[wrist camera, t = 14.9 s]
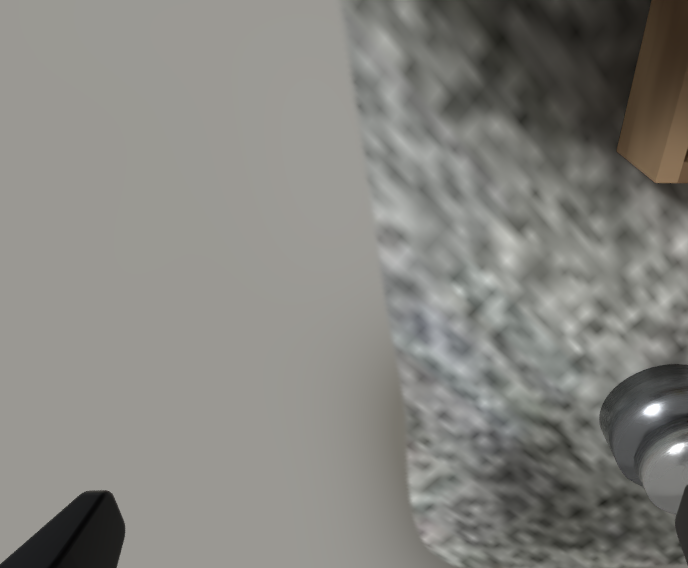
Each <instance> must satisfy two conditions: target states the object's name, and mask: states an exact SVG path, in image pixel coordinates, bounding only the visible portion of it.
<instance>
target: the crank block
mask: <svg viewBox="0 0 688 568" xmlns="http://www.w3.org/2000/svg"><path fill="white" fill-rule="evenodd" d="M686 417H688V365H679V364H674V365H663V366H657V367H653V368H649V369H646V370H643V371H641V372H639V373H636V374H634V375H632V376H631V377H629V378H627V379H626V380H624V381H623V382H621V383H620V384H619V385H618V386H616V387H615V388H614V389H613V390H612V391H611V392H610V394H609V395H608V396H607V398H606V399H605V401H604V403H603V405H602V408H601V411H600V420H599V421H600V427H601V429H602V432H603V434H604V436H605V438H606V440H607V443H608V445H609V447H610V449H611V451H612V453H613V455H614V457H615V460H616V462H617V464H618V466H619V468H620V470H621V471H622V473H623V474H624V475H625V476H626V477H627V478H628V479H630V480H631V481H633V482H634V483H636V484H638V485H641V486H643V485H642V483H641V481H640V479H639V477H638V475H637V473H636V471H635V468H634V455H635V452H636V450H637V448H638V446H639V445H640V443H641V442H642V441H643V440H644V439H645V438H646V437H647V436H648V435H649V434H650V433H651V432H653V431H654V430H656V429H657V428H659V427H661V426H663V425H665V424H667V423H669V422H672V421H675V420H678V419H681V418H686Z"/></svg>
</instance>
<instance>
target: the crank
mask: <svg viewBox="0 0 688 568" xmlns="http://www.w3.org/2000/svg"><path fill="white" fill-rule="evenodd" d="M634 468H635V471H636V473H637V475H638V477H639V479H640V481H641V483H642V485H643V487H644V489H645V491H646V493H647V495H648V497H649V499H650V500H651V501H652V502H653V504H654V505H656V506H657V507H658V508H660V509H662V510H664V511H666V512H669V513H672V514H677V511H678V508H679V505H680V502H681V498H682V495H683V492H684V489H685V487H686V485H688V417H686V418H681V419H678V420H675V421H672V422H669V423H667V424H665V425H663V426H661V427H659V428H657V429H656V430H654V431H653V432H651V433H650V434H649V435H648V436H647V437H646V438H645V439H644V440H643V441H642V442H641V443H640V445H639V446H638V448H637V450H636V452H635V455H634Z"/></svg>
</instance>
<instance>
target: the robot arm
mask: <svg viewBox="0 0 688 568" xmlns="http://www.w3.org/2000/svg"><path fill="white" fill-rule="evenodd" d="M675 526H676V532H677V535H678V538H679V541H680V544H681V547H682V550H683V553H684V556H685V559H686V562H687V564H688V485H686V487H685V489H684V492H683V495H682V498H681V502H680V505H679V508H678V511H677V514H676V519H675ZM124 537H125V523H124V520H123V518H122V515H121V513H120V510H119V508H118V505H117V503H116V501H115V498H114V496H113V494H112V493H111V492H109V491H106V490H105V491H104V490H103V491H101V490H100V491H86V492H84V493H82V494H80V495H79V496H78V497H77V498H76V499H74V500H73V501H72V502H71V503H70V504H69V505H68V506H66V507H65V508H64V509H63V510H62V511H61V512H60V513H58V514H57V515H56V516H55V517H54V518H53V519H52V520H50V521H49V522H48V523H47V524H46V525H45V526H44V527H42V528H41V529H40V530H39V531H38V532H37V533H35V534H34V535H33V536H32V537H31V538H30V539H29V540H27V541H26V542H25V543H24V544H23V545H22V546H21V547H19V548H18V549H17V550H16V551H15V552H14V553H13V554H11V555H10V556H9V557H8V558H7V559H6V560H5V561H3V562H2V563H1V564H0V568H117V564H118V560H119V556H120V553H121V548H122V545H123V541H124Z"/></svg>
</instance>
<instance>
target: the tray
mask: <svg viewBox="0 0 688 568" xmlns="http://www.w3.org/2000/svg"><path fill="white" fill-rule="evenodd" d="M617 152H618V153H619V154H620V155H622V156H623V157H624V158H625V159H627V160H628V161H629V162H630V163H631V164H633V165H634V166H635V167H636V168H638V169H639V170H640V171H641V172H642V173H644V174H645V175H646V176H647V177H649V178H650V179H651V180H652V181H654V182H655V183H688V0H652V1H651V5H650V9H649V14H648V18H647V22H646V27H645V31H644V35H643V39H642V44H641V48H640V52H639V57H638V61H637V65H636V69H635V74H634V78H633V82H632V87H631V91H630V95H629V99H628V104H627V108H626V112H625V117H624V121H623V125H622V129H621V134H620V138H619V142H618V146H617Z"/></svg>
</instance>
